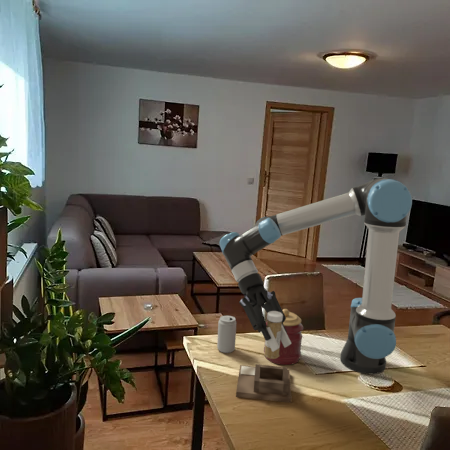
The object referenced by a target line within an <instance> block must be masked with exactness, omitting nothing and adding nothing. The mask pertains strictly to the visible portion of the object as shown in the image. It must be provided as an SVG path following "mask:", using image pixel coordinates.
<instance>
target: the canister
mask: <svg viewBox="0 0 450 450" xmlns="http://www.w3.org/2000/svg"><path fill="white" fill-rule="evenodd" d="M282 311H283V313H284V315H285V317H286V320H285V321H284V322H283V325H284V327H285V329H286V331H287V335H288V337H289V339H290V341H291V343H292V344H290V345H289V346H287V347H285V348H284V346H283V343H282V341H281V339H280V348H279V357H278V358H276V359H270V358H267V357H266V356H265V355H264V357H265V359H267V361H268V362H271V363H274V364H276V365H283V366H284V365H286V366H288V365H294V364H295V365H296V364H297V363H298V362H299V361H300V358H301V357H302V355H301V354H302V339H303V334H302V331H303V330H304V326H303V324H302V319H301V318H300V317H299V316H298V315H297V314H296V313H294V312H291V311H289V310H288V309H287V308H283V309H282ZM265 322H266V325H267V321H265ZM265 341H266V340H265V339H264V342H265ZM264 353H265V346H263V354H264Z"/></svg>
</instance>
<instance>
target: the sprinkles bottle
mask: <svg viewBox="0 0 450 450" xmlns="http://www.w3.org/2000/svg"><path fill="white" fill-rule="evenodd" d="M266 313H267V312H266ZM266 320H267V321H266V322H267V327H266V328H268V327H270V329H271V331H272V333H273V335H274V337H275V339H276V341H277V343H278V345H279V347H280V339H281V325H282V320H283V314H282V313H281V312H278V311H270V312H268V313H267V314H266ZM264 347H265V353H264V352H263V355H264V357H265V356H266V357H267V358H270V359H276V358H278V357H279V349H277V350H276V351H274V352H272V350H271V348H270V345H269V343H268V341H265V340H264ZM266 357H265V358H266Z"/></svg>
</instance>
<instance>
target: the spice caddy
mask: <svg viewBox="0 0 450 450" xmlns="http://www.w3.org/2000/svg"><path fill="white" fill-rule="evenodd" d="M290 374H291V373H290V370H289V367H287V366H279V365H277V366H275V365H268V364H259V363H256V364H255V366H251V365H241V364H240V365H239V370H238V376H237V377H238V378H237V384H236V392H235V397H237V398H245V399H255V400H265V401H272V402H283V403H292V399H293V397H292V387H291V386H292V384H291V375H290Z"/></svg>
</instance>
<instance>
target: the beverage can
mask: <svg viewBox="0 0 450 450" xmlns="http://www.w3.org/2000/svg"><path fill="white" fill-rule="evenodd" d="M217 322H218V324H217V325H218V326H217V345H216V348H217V350H218V351H220V352H221V353H222V354H230V353H232V352H233V351H235V349H236V339H237V338H236V334H237V321H236V317H235V316H232V315H222V316H220V317H219V320H218V321H217Z"/></svg>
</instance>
